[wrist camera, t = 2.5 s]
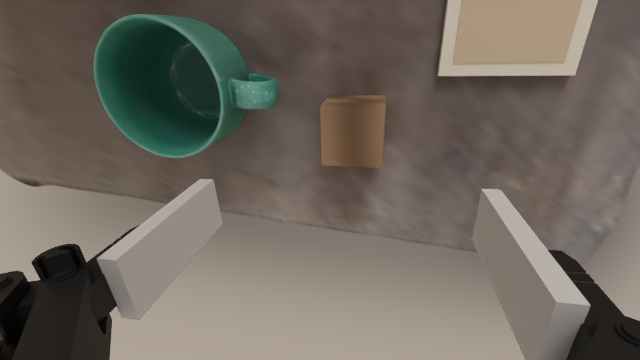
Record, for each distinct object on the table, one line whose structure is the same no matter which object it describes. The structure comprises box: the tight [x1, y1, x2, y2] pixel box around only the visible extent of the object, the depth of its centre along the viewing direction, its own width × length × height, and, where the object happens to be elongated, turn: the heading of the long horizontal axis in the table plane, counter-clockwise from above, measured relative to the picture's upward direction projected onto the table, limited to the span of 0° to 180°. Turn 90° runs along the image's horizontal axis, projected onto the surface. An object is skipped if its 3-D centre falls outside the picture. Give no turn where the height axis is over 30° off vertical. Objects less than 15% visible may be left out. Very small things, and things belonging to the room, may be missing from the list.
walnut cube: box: [320, 95, 386, 168], centre depth 32 cm, size 6×6×6 cm
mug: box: [93, 14, 279, 158], centre depth 31 cm, size 17×13×10 cm
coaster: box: [437, 0, 598, 76], centre depth 27 cm, size 12×12×1 cm
